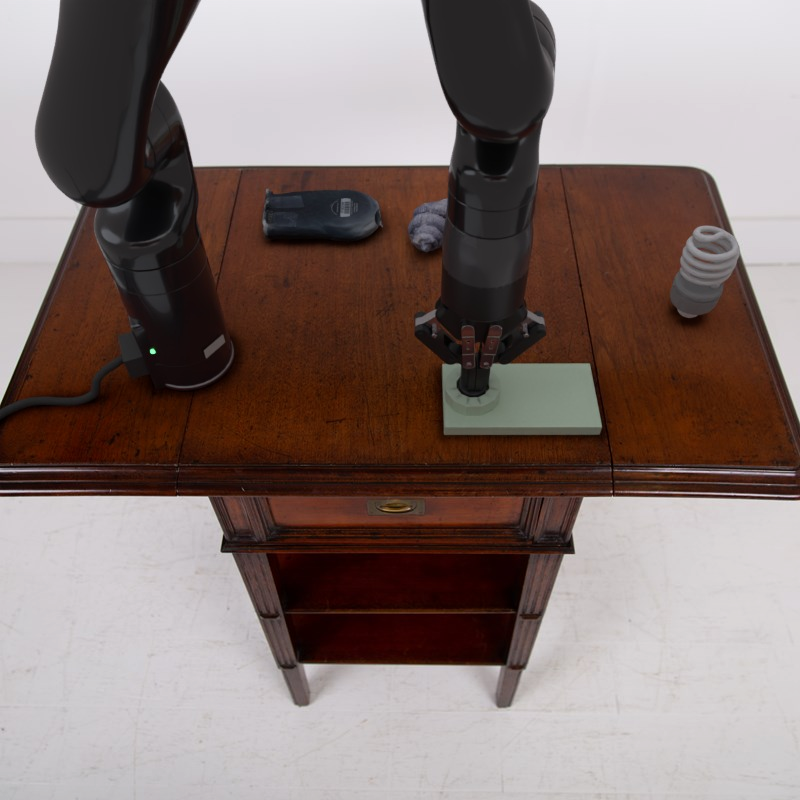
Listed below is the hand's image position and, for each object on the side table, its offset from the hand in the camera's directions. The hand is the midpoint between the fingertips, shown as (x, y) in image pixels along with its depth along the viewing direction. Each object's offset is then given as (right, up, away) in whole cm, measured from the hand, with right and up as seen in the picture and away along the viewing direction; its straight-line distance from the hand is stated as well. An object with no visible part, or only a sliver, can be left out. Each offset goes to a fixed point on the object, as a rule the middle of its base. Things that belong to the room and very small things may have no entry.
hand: (474, 384), depth 78 cm
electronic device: (-18, +21, +21) cm, 35 cm away
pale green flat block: (+5, -2, +2) cm, 6 cm away
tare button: (0, -1, +1) cm, 2 cm away
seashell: (-4, +19, +19) cm, 27 cm away
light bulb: (+26, +8, +10) cm, 29 cm away
